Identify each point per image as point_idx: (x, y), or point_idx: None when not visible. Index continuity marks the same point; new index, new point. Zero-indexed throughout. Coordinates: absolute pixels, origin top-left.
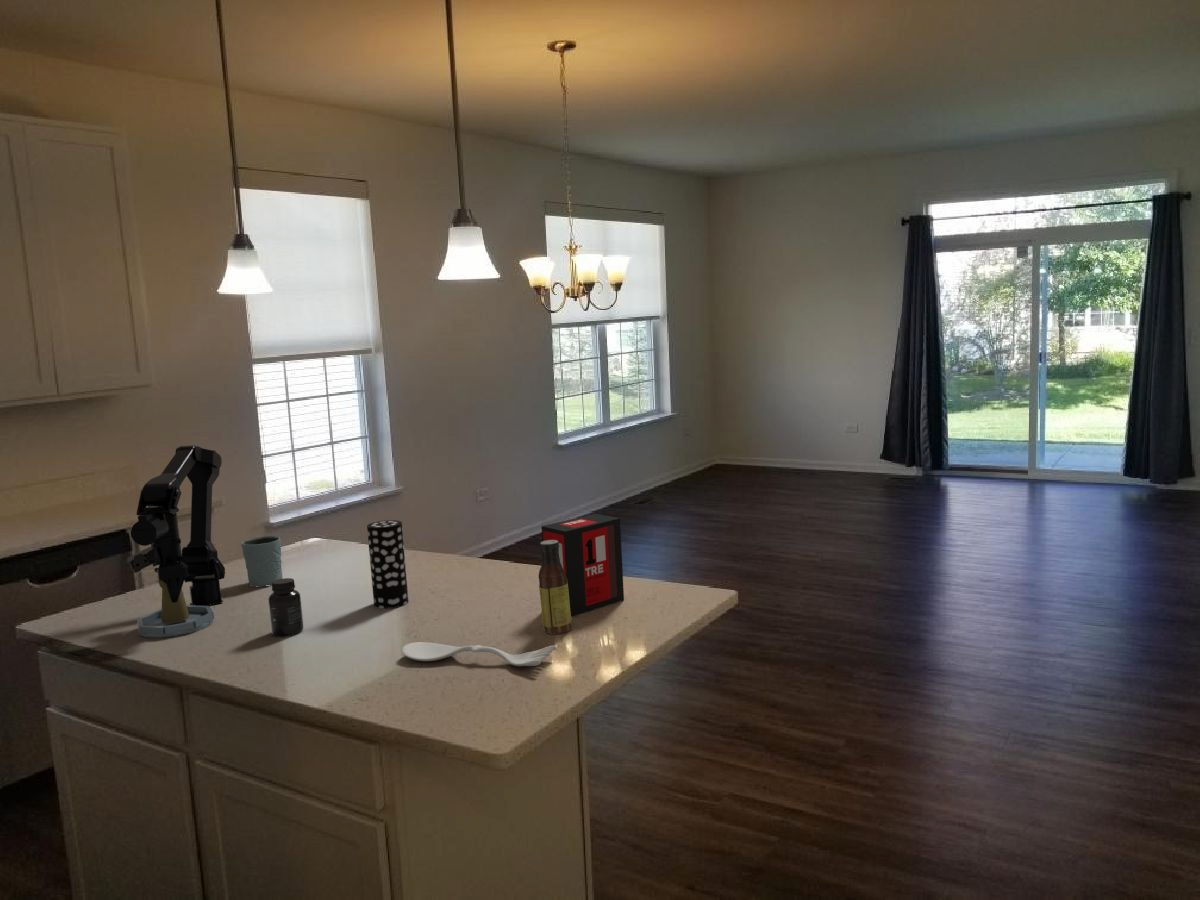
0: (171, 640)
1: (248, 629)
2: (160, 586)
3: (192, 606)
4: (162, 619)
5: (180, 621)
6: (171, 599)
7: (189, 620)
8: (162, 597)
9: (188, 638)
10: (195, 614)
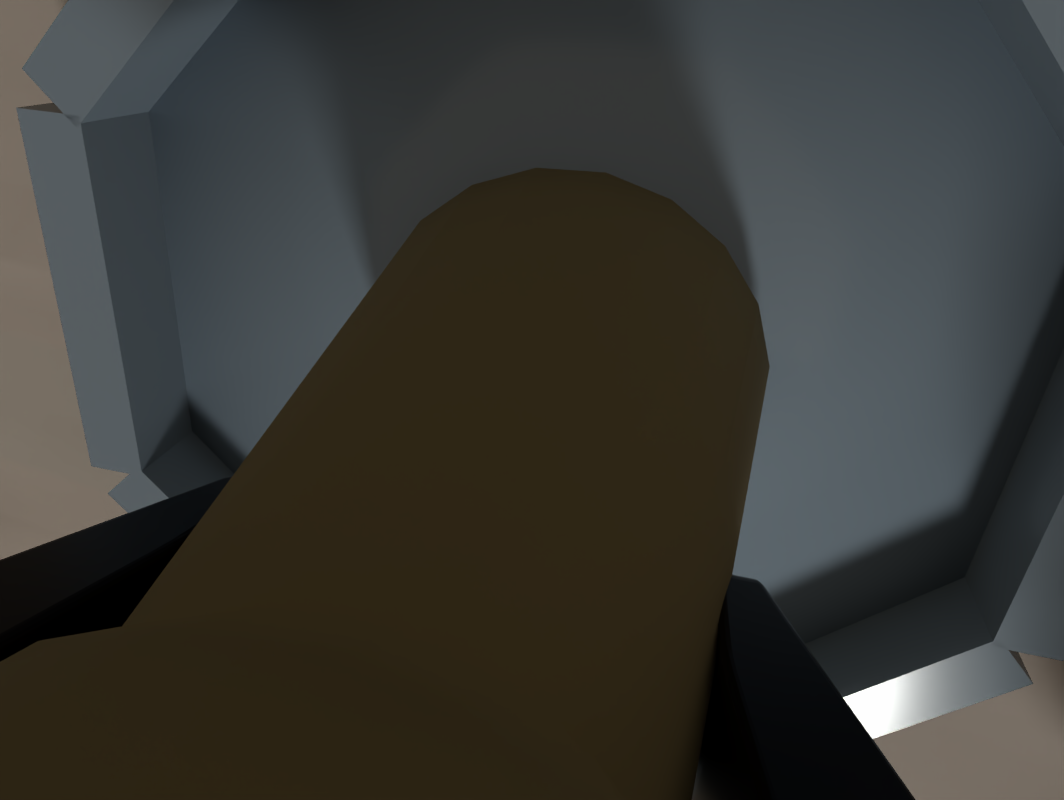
0: (18, 129)
1: None
2: (136, 637)
3: (877, 696)
4: (511, 184)
5: None
6: (158, 506)
7: None
8: (398, 400)
9: (9, 299)
10: None
